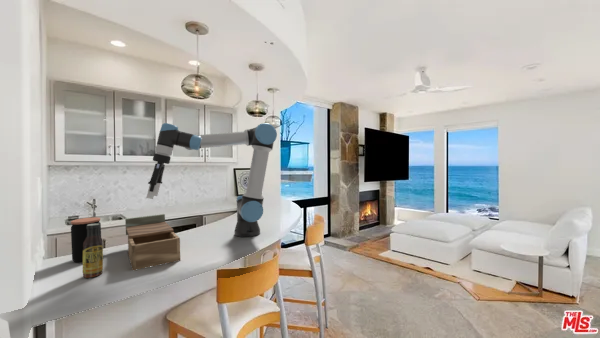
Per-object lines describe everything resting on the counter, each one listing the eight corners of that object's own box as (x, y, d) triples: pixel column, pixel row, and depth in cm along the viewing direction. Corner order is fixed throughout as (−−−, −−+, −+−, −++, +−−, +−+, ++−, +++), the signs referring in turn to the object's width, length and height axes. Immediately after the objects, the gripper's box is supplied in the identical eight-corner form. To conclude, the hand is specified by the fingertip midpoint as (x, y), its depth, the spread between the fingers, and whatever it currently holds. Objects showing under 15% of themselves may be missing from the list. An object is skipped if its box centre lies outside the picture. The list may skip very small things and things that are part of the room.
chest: (128, 255, 126) (127, 234, 126) (170, 248, 137) (169, 228, 137) (132, 270, 109) (131, 246, 108) (180, 260, 119) (179, 238, 119)
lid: (125, 234, 139) (125, 218, 139) (164, 228, 149) (164, 214, 149) (129, 245, 119) (128, 227, 119) (173, 238, 129) (173, 221, 129)
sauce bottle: (84, 280, 100) (82, 227, 100) (81, 276, 104) (78, 225, 104) (106, 274, 105) (104, 224, 105) (101, 270, 109) (99, 221, 109)
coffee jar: (104, 253, 130) (102, 216, 130) (99, 260, 121) (97, 220, 120) (76, 257, 126) (74, 218, 125) (68, 265, 116) (66, 223, 116)
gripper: (158, 154, 144) (148, 193, 142) (150, 151, 120) (137, 198, 119) (173, 157, 146) (163, 195, 145) (168, 155, 123) (156, 201, 121)
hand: (152, 197), depth 132 cm, fingers open, 13 cm apart
